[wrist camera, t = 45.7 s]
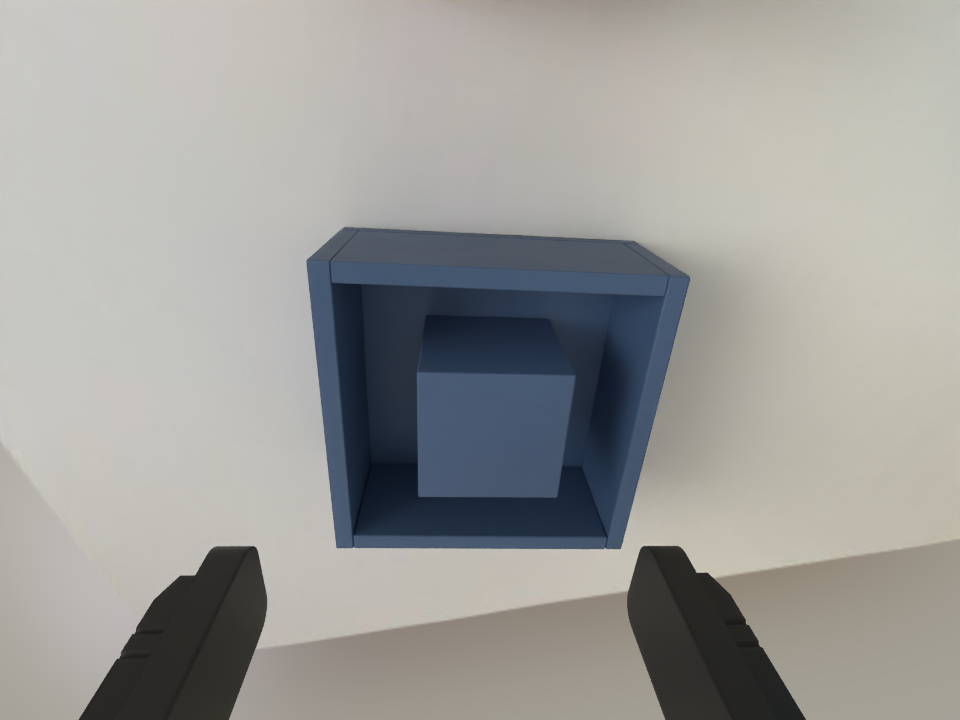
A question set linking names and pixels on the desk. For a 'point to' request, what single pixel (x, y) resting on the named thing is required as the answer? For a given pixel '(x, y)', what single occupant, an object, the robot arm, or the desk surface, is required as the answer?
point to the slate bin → (487, 293)
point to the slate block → (491, 407)
